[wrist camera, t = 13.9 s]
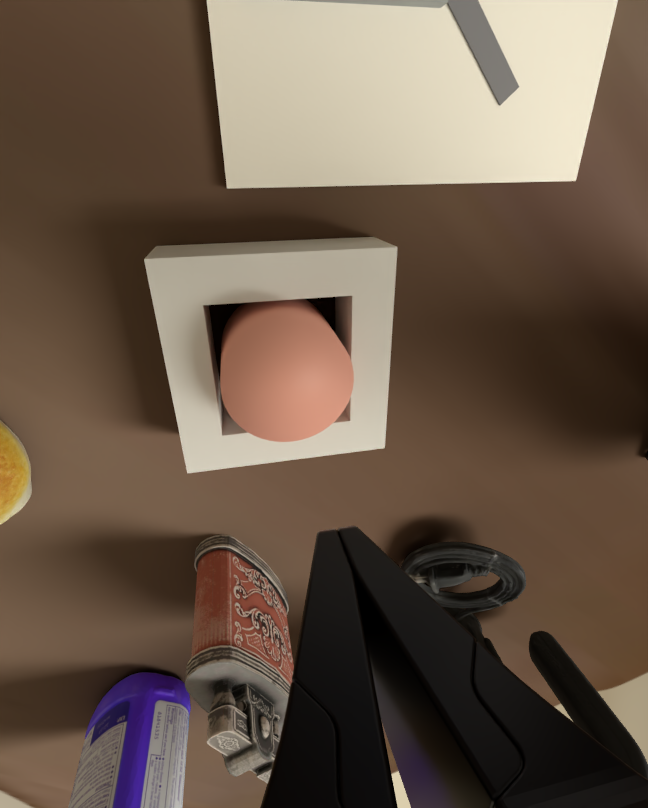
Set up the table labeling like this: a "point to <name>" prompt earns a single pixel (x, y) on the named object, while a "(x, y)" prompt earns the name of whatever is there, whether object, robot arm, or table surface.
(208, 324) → the button housing
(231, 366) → the button
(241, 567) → the lighter
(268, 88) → the sheet
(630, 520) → the table surface
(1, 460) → the bread roll
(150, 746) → the bottle
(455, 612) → the milk frother
